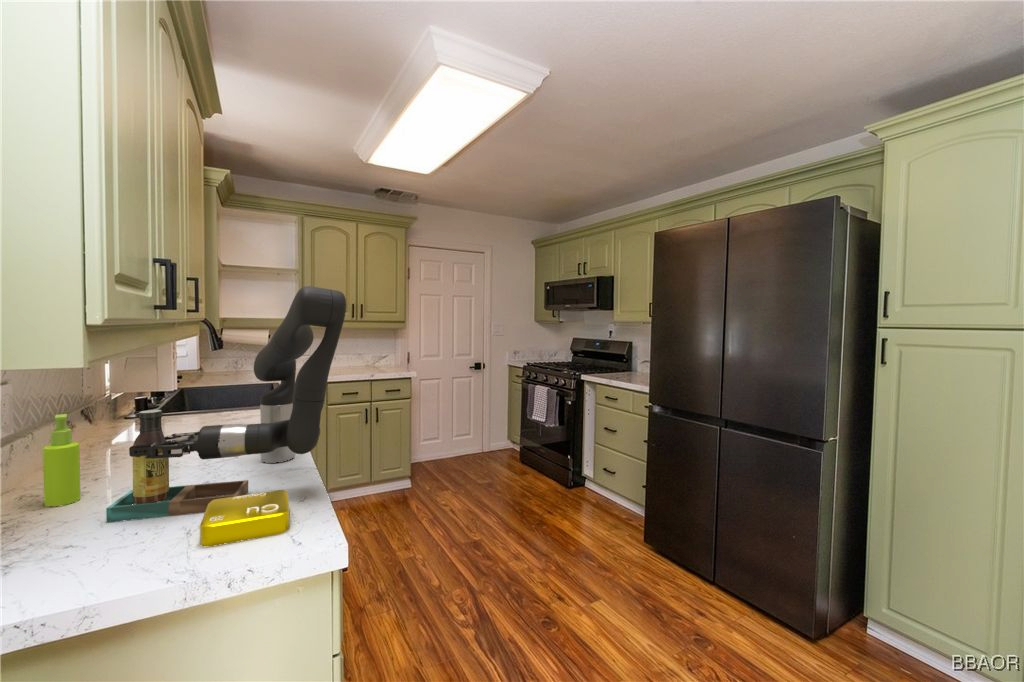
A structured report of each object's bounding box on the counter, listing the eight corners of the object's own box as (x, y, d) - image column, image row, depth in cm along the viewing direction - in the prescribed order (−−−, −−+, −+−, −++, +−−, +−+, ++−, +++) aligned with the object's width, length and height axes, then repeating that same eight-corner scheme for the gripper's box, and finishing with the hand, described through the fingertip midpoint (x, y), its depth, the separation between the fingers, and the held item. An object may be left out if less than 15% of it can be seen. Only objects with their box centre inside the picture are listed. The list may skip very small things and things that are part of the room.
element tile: (287, 506, 103) (287, 486, 102) (289, 534, 89) (289, 510, 89) (209, 519, 96) (209, 497, 95) (198, 550, 82) (198, 525, 82)
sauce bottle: (149, 507, 95) (145, 415, 94) (125, 505, 96) (121, 413, 95) (177, 495, 102) (174, 408, 101) (155, 493, 103) (151, 407, 102)
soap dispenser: (80, 493, 107) (78, 411, 107) (80, 502, 102) (79, 415, 102) (45, 500, 103) (43, 414, 103) (43, 509, 98) (41, 419, 98)
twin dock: (131, 503, 102) (131, 490, 102) (248, 492, 110) (248, 480, 110) (106, 522, 92) (106, 508, 92) (237, 509, 100) (237, 495, 100)
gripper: (233, 418, 110) (151, 423, 105) (215, 431, 96) (120, 438, 91) (234, 449, 110) (152, 455, 105) (216, 466, 97) (121, 474, 91)
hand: (137, 447), depth 98 cm, fingers closed on sauce bottle, 6 cm apart
